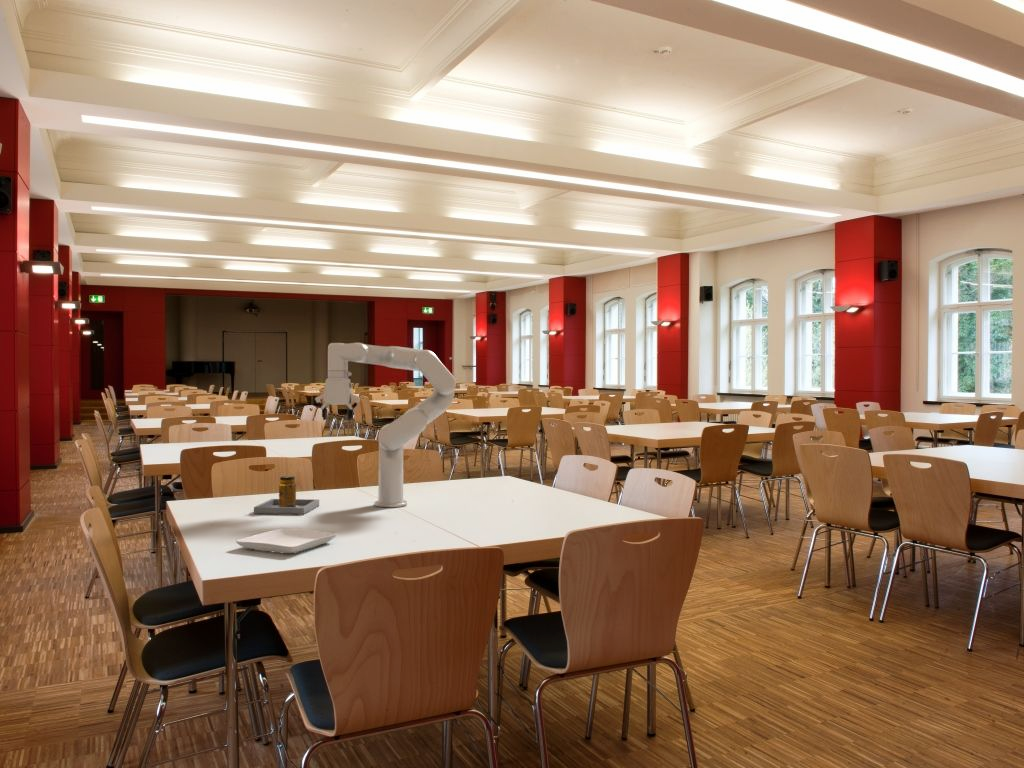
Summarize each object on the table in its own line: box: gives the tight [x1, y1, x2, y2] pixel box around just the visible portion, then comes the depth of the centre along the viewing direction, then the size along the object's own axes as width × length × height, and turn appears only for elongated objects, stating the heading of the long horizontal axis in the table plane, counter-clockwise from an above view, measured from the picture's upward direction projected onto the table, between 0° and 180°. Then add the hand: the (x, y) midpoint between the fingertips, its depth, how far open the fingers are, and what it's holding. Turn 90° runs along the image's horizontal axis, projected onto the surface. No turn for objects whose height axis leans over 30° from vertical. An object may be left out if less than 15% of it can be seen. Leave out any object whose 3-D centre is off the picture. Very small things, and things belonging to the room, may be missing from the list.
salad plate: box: [235, 527, 337, 554], centre depth 228 cm, size 21×21×3 cm
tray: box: [253, 498, 320, 516], centre depth 287 cm, size 18×18×2 cm
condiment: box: [278, 475, 299, 507], centre depth 287 cm, size 7×8×12 cm
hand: (337, 419), depth 295 cm, fingers open, 9 cm apart
